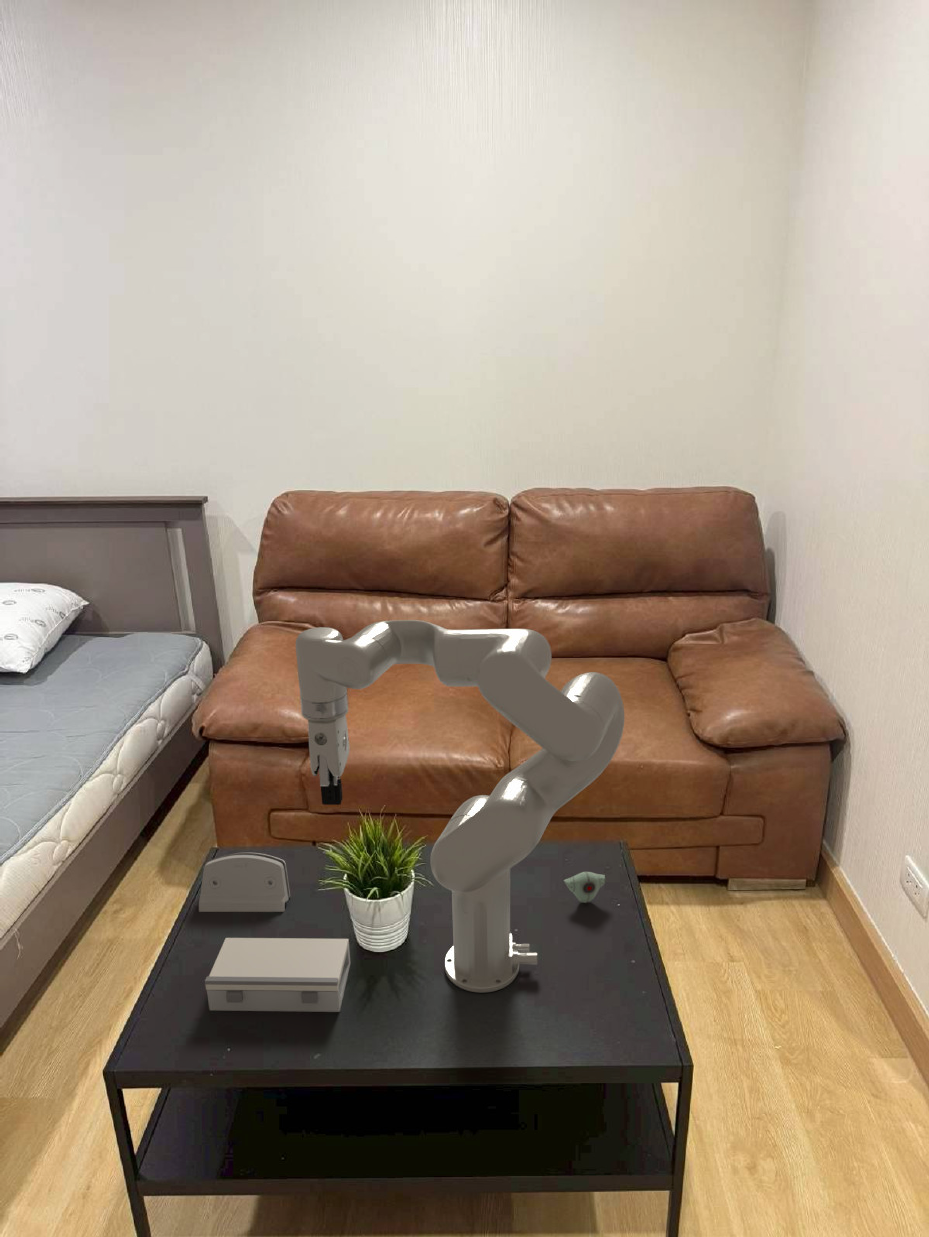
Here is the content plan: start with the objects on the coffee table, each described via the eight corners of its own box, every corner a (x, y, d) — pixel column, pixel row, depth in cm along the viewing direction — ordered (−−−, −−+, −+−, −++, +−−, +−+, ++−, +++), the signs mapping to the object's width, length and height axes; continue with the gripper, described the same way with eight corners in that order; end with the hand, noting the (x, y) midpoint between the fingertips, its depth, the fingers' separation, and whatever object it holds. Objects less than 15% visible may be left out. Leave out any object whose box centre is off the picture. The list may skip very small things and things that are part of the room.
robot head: (602, 893, 169) (603, 863, 167) (609, 907, 166) (611, 876, 163) (561, 898, 168) (562, 868, 166) (567, 912, 164) (568, 881, 162)
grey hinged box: (350, 963, 153) (349, 944, 152) (338, 1015, 142) (337, 995, 141) (229, 962, 154) (226, 943, 153) (208, 1014, 143) (205, 994, 141)
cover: (348, 943, 152) (348, 935, 151) (337, 991, 141) (336, 982, 140) (226, 942, 152) (225, 934, 152) (206, 989, 142) (204, 980, 141)
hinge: (196, 911, 167) (196, 858, 167) (204, 903, 171) (204, 851, 171) (285, 911, 166) (285, 857, 166) (291, 903, 171) (291, 851, 171)
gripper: (339, 724, 137) (347, 827, 144) (354, 684, 152) (361, 779, 158) (291, 724, 138) (301, 827, 144) (310, 684, 152) (318, 779, 158)
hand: (332, 802), depth 151 cm, fingers closed
